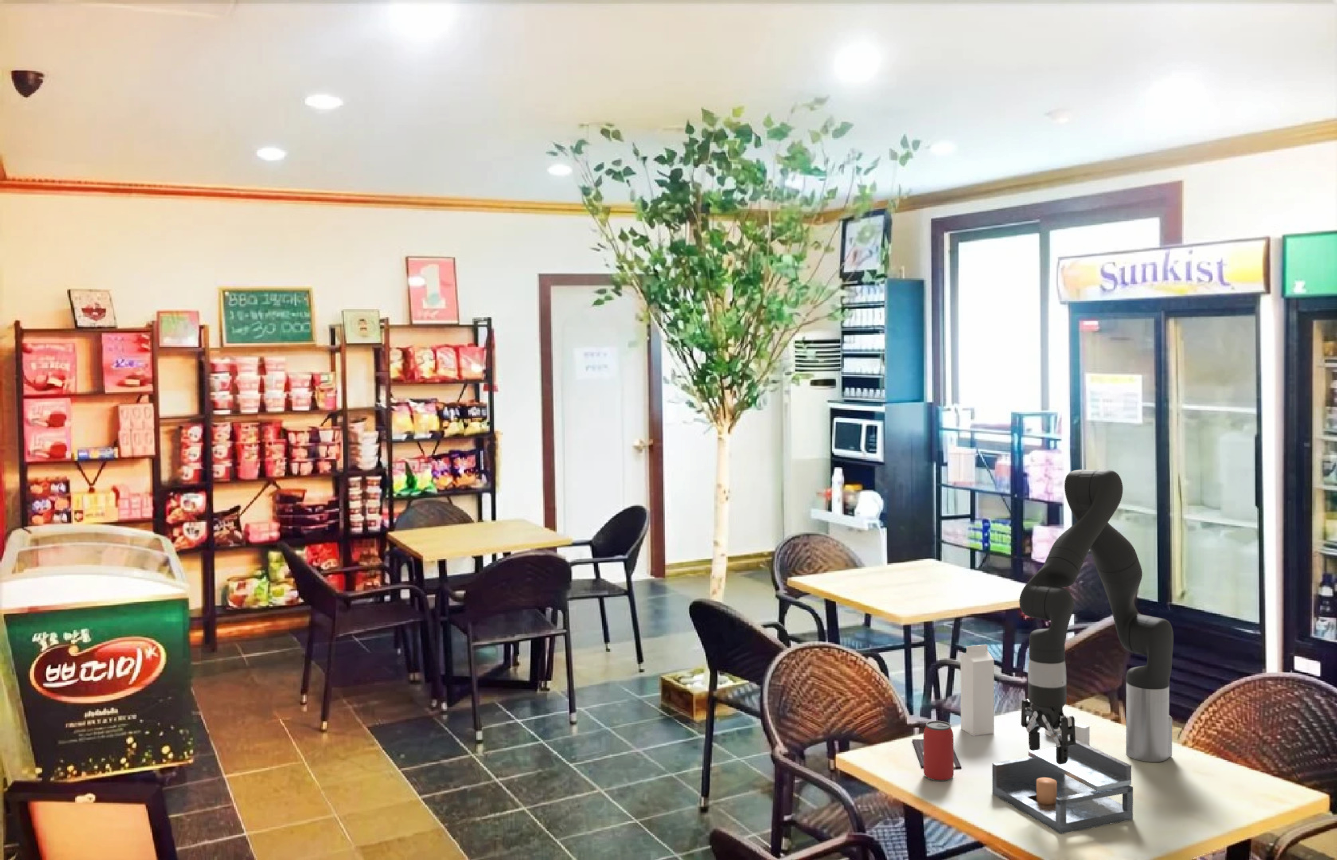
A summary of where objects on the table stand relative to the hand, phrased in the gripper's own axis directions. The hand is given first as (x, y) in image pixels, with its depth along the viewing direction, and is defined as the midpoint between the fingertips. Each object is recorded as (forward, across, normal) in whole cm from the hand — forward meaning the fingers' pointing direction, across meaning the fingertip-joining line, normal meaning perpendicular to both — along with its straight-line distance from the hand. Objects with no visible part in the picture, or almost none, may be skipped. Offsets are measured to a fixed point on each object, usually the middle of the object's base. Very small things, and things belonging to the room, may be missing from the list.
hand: (1047, 756), depth 232 cm
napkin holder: (+13, +31, -31) cm, 46 cm away
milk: (+12, +46, -15) cm, 50 cm away
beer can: (+11, +24, +11) cm, 29 cm away
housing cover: (+4, 0, -8) cm, 9 cm away
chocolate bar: (+12, +36, +4) cm, 38 cm away
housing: (+11, 0, -3) cm, 12 cm away
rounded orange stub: (+11, 0, 0) cm, 11 cm away
